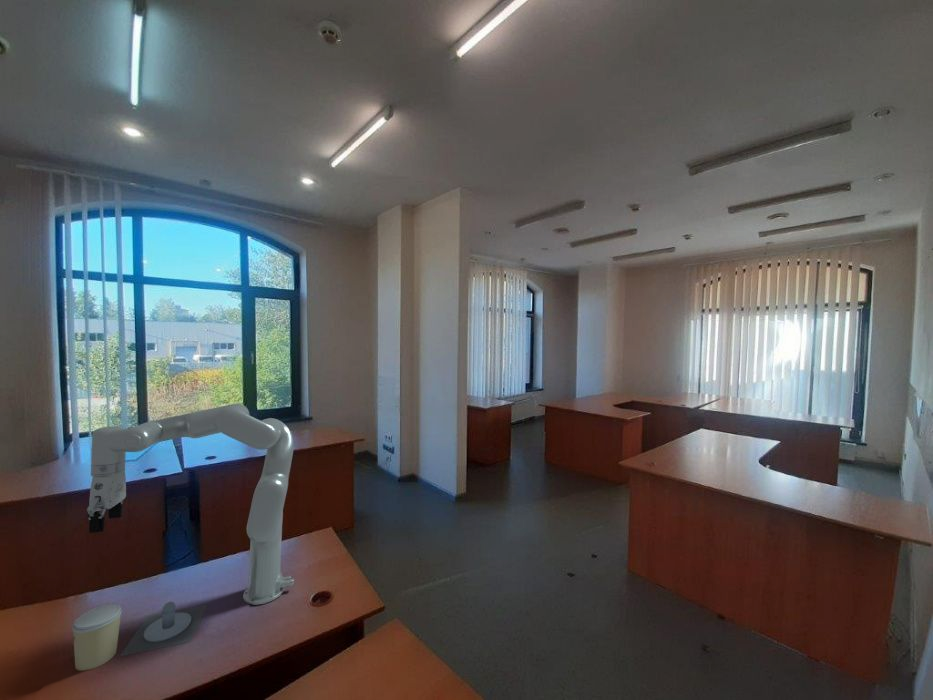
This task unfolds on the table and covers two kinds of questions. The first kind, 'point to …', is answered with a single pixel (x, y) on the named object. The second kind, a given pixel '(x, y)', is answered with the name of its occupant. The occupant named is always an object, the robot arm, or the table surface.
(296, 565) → the table surface
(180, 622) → the lid
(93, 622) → the coffee cup
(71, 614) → the table surface
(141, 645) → the mat
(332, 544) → the table surface
